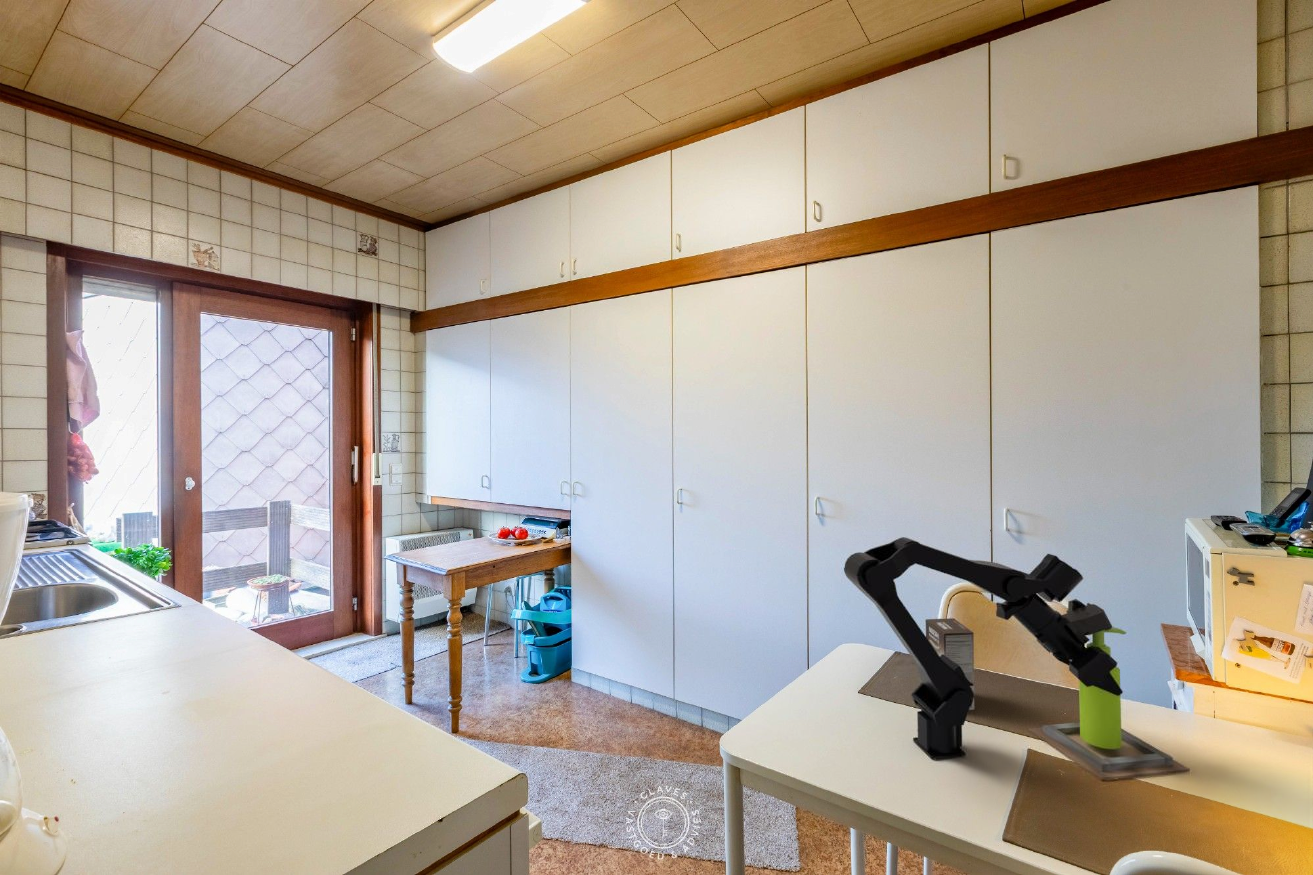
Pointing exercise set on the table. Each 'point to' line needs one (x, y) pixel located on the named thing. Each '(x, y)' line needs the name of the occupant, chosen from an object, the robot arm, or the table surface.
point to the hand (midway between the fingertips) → (1111, 686)
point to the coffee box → (953, 644)
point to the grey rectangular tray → (1109, 754)
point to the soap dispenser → (1101, 706)
